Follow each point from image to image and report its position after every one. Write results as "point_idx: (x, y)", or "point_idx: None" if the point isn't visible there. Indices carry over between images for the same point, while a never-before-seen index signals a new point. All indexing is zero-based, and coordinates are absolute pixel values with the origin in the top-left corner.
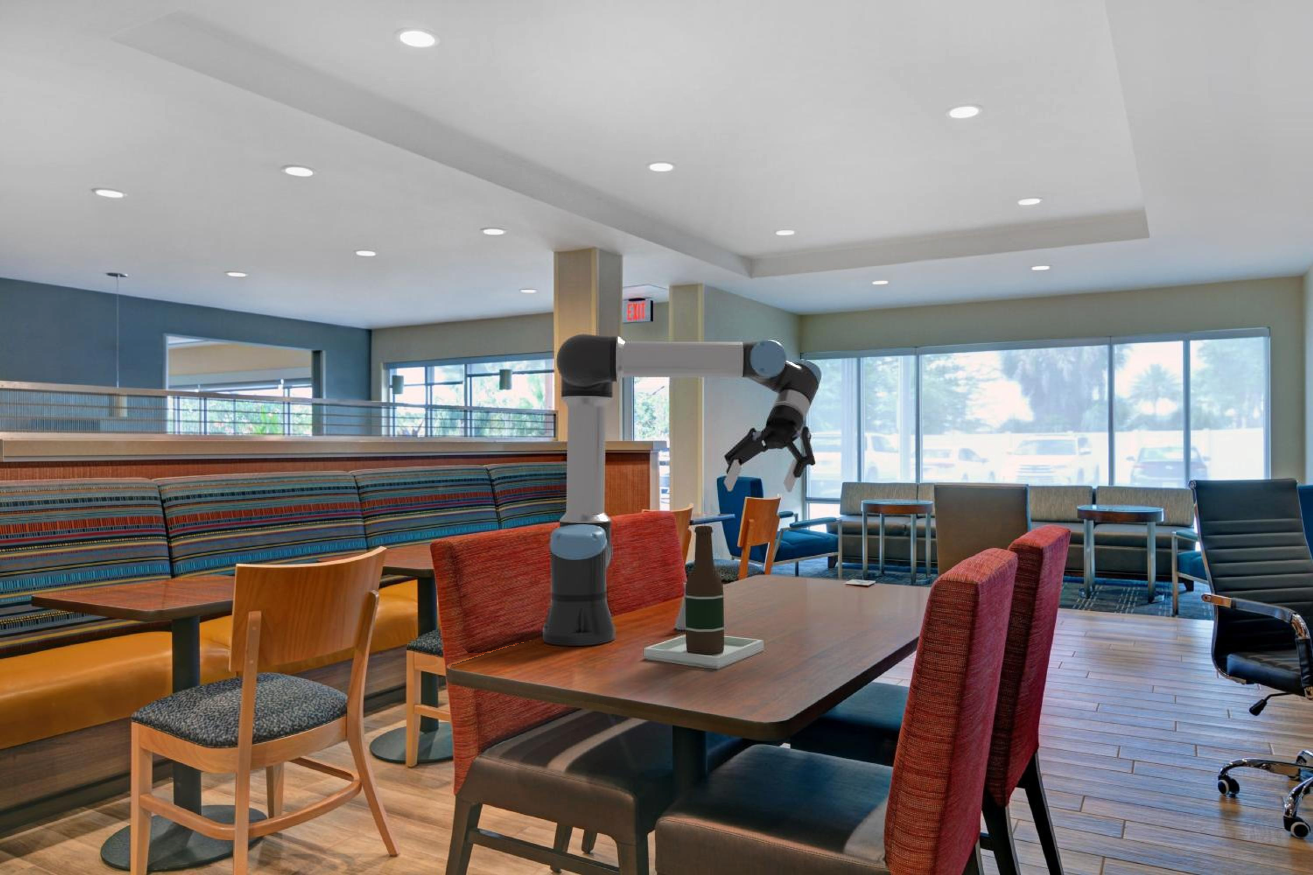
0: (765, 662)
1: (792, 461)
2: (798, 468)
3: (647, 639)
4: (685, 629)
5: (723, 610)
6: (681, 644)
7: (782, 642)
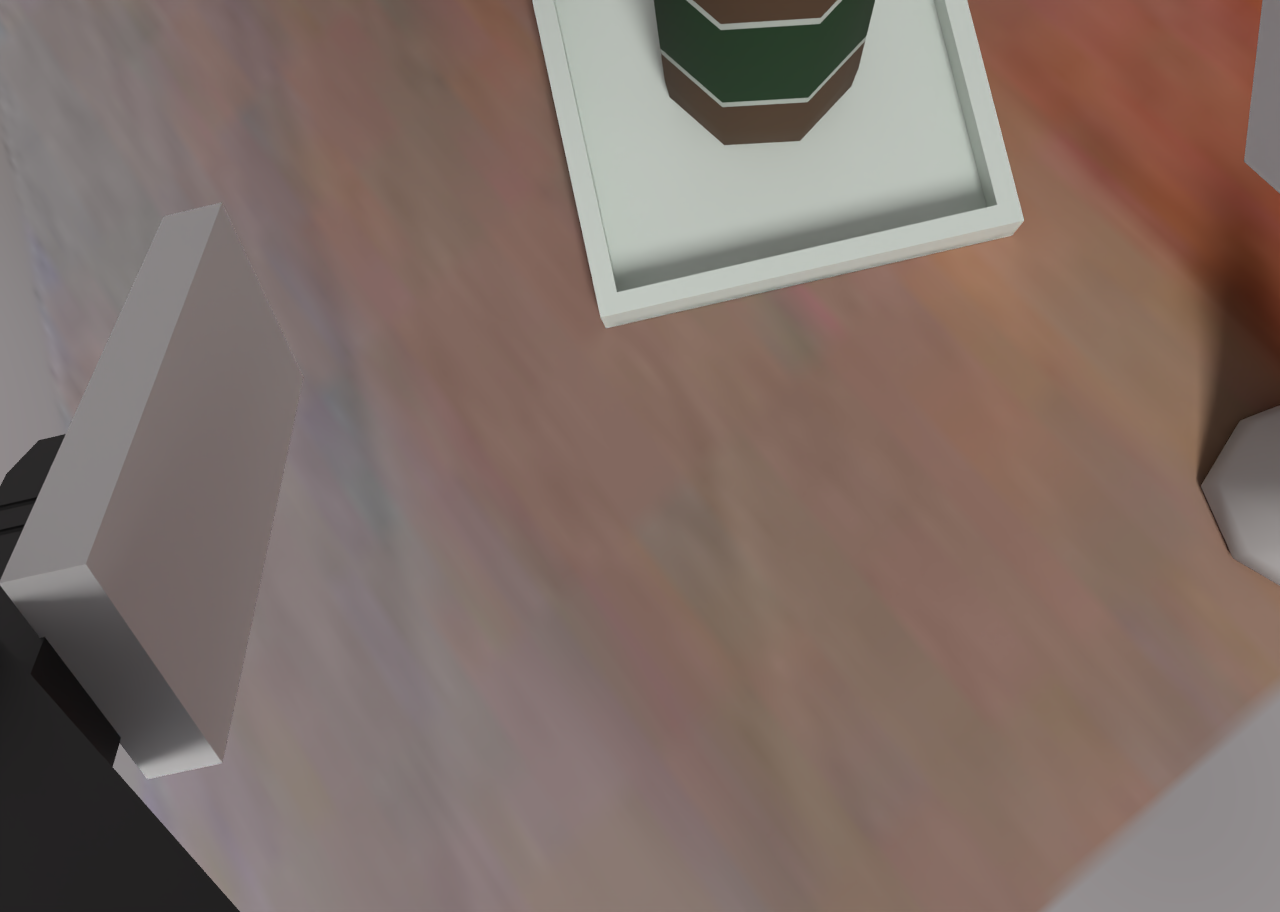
0: (444, 145)
1: (96, 519)
2: (12, 509)
3: (1239, 108)
4: (1267, 410)
5: (654, 4)
6: (956, 88)
7: (658, 548)
